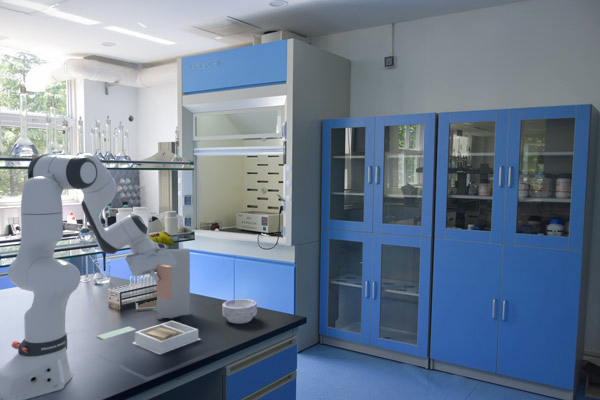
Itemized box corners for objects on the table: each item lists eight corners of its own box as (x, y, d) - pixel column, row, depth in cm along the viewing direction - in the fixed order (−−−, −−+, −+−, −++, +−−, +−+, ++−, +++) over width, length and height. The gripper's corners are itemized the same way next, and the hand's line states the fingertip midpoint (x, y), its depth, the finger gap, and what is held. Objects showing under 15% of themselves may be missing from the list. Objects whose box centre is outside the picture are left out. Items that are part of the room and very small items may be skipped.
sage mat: (116, 345, 171) (116, 344, 171) (96, 337, 180) (96, 335, 180) (148, 335, 182) (148, 334, 182) (128, 327, 191) (128, 326, 191)
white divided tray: (159, 357, 162) (159, 343, 162) (132, 345, 172) (131, 332, 172) (201, 341, 177) (201, 328, 177) (173, 331, 187) (173, 319, 187)
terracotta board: (167, 300, 177) (167, 267, 176) (156, 297, 180) (156, 265, 179) (171, 299, 179) (171, 266, 178) (160, 296, 182) (160, 264, 181)
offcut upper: (163, 343, 167) (163, 337, 167) (145, 338, 171) (145, 333, 171) (177, 337, 173) (177, 331, 173) (159, 332, 178) (159, 327, 177)
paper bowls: (226, 314, 210) (226, 297, 210) (259, 315, 209) (259, 298, 208) (218, 325, 195) (218, 307, 195) (253, 327, 194) (253, 308, 193)
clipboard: (173, 290, 245) (179, 307, 217) (173, 293, 245) (179, 310, 217) (135, 293, 238) (136, 310, 210) (135, 296, 238) (136, 314, 210)
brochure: (188, 312, 211) (188, 248, 209) (189, 316, 206) (189, 250, 204) (156, 315, 207) (156, 250, 205) (156, 319, 202) (156, 252, 199)
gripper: (127, 250, 174) (145, 279, 169) (168, 243, 191) (185, 270, 187) (119, 260, 176) (136, 289, 172) (160, 253, 194) (177, 279, 190)
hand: (162, 279), depth 180 cm, fingers closed on terracotta board, 2 cm apart
